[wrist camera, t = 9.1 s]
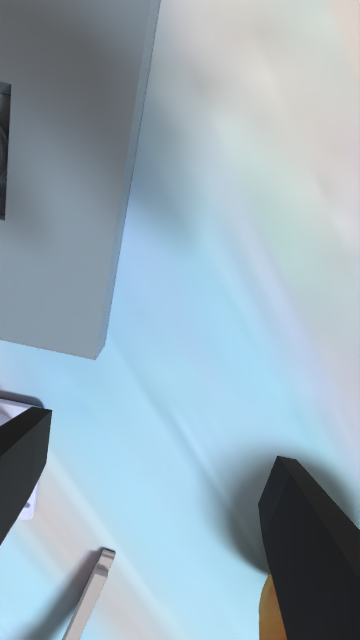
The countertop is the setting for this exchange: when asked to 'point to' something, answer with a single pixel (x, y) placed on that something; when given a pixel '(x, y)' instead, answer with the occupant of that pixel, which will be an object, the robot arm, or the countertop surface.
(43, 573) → the countertop surface
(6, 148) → the steel ball
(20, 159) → the hole plate
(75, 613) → the caliper
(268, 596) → the onion
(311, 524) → the robot arm
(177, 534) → the countertop surface
